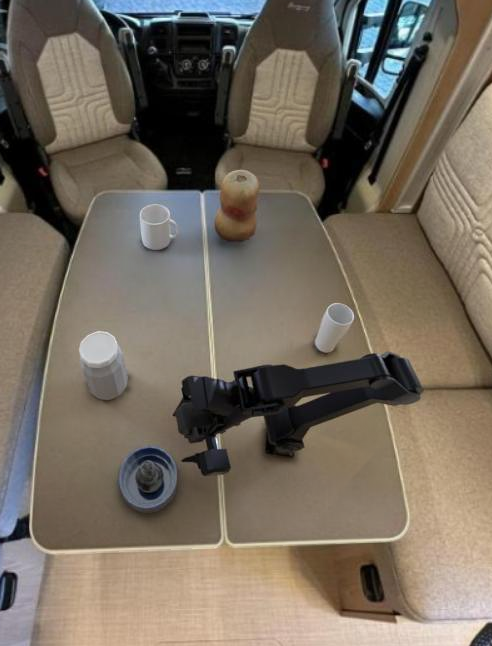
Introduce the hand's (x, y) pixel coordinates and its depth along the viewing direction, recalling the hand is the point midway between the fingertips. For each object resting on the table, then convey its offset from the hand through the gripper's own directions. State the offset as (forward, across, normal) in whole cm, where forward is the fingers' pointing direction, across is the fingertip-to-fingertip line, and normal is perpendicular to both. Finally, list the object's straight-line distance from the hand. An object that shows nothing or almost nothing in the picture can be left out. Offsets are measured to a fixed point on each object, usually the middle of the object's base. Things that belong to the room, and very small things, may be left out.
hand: (178, 437), depth 86 cm
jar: (+18, -20, -3) cm, 27 cm away
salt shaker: (+12, +5, +1) cm, 13 cm away
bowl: (+13, +5, +1) cm, 14 cm away
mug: (+8, -67, +16) cm, 69 cm away
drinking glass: (-19, -18, +42) cm, 50 cm away
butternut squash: (-8, -64, +35) cm, 73 cm away
